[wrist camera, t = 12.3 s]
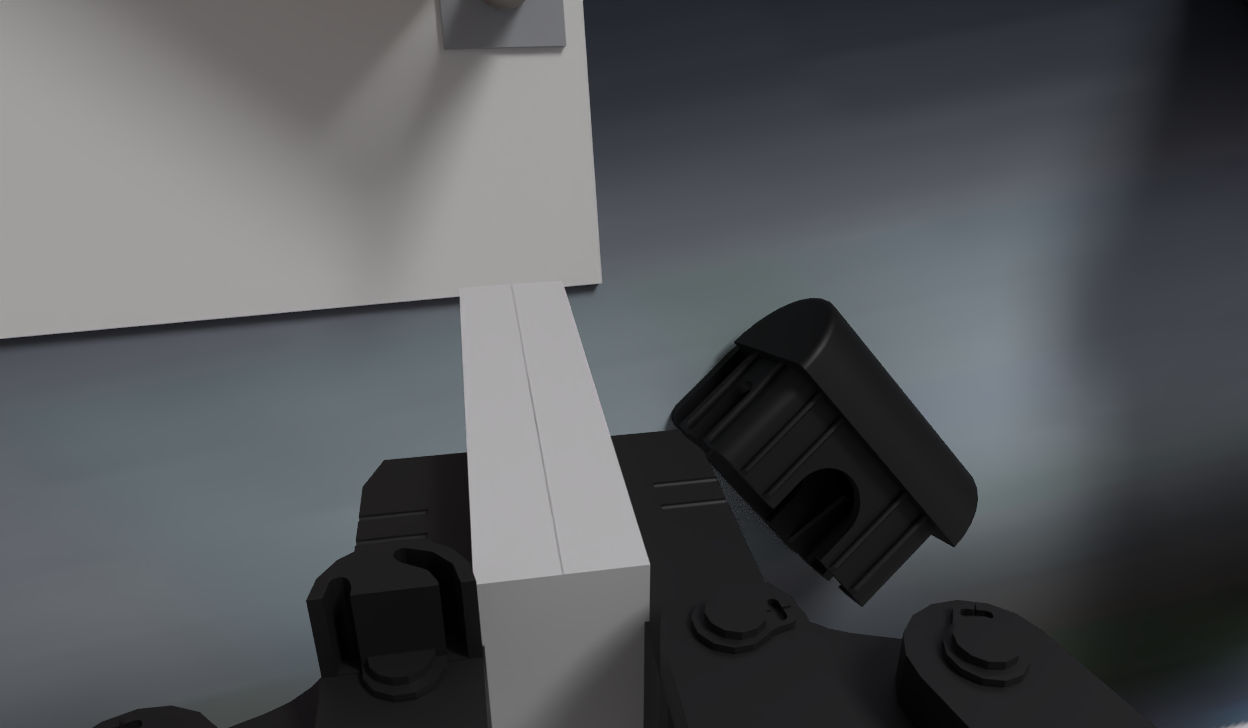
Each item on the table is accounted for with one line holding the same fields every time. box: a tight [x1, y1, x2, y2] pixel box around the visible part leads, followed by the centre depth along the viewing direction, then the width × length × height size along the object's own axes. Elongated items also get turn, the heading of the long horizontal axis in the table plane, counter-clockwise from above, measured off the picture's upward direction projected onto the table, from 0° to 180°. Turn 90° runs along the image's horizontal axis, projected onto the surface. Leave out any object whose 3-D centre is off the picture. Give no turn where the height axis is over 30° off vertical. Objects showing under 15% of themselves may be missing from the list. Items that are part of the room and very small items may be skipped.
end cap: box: [672, 298, 978, 607], centre depth 37 cm, size 10×7×7 cm
